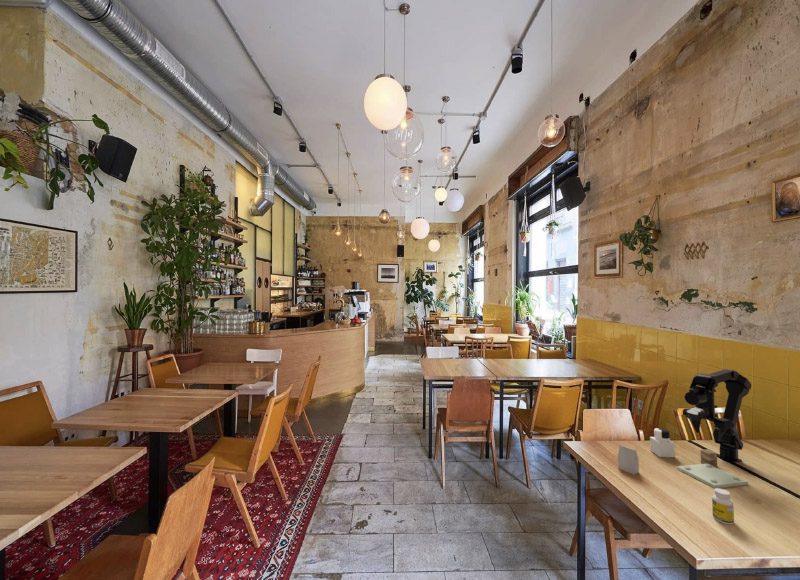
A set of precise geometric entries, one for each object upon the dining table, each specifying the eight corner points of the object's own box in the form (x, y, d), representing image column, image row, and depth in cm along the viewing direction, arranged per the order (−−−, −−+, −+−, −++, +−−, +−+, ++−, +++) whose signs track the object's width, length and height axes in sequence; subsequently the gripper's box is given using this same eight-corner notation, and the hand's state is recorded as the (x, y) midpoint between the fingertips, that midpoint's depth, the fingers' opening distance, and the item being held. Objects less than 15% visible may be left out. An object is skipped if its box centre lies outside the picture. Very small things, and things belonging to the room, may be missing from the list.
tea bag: (634, 474, 150) (633, 451, 150) (618, 468, 156) (617, 445, 156) (638, 472, 152) (638, 449, 152) (622, 466, 158) (622, 444, 158)
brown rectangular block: (708, 462, 161) (707, 449, 161) (717, 466, 157) (716, 453, 157) (700, 463, 160) (700, 450, 160) (709, 467, 156) (709, 453, 156)
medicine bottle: (665, 451, 173) (664, 427, 173) (675, 457, 165) (674, 432, 166) (650, 450, 173) (649, 426, 174) (659, 457, 166) (658, 432, 166)
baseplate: (707, 466, 157) (707, 462, 157) (748, 484, 141) (748, 480, 141) (677, 469, 154) (677, 465, 154) (715, 488, 139) (715, 483, 139)
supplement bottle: (708, 515, 121) (707, 487, 122) (722, 514, 122) (721, 486, 122) (724, 525, 116) (723, 496, 116) (738, 524, 117) (737, 495, 117)
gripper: (672, 397, 167) (673, 430, 167) (712, 409, 149) (714, 446, 148) (691, 396, 169) (693, 428, 168) (734, 408, 150) (735, 444, 150)
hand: (707, 436), depth 159 cm, fingers open, 9 cm apart
